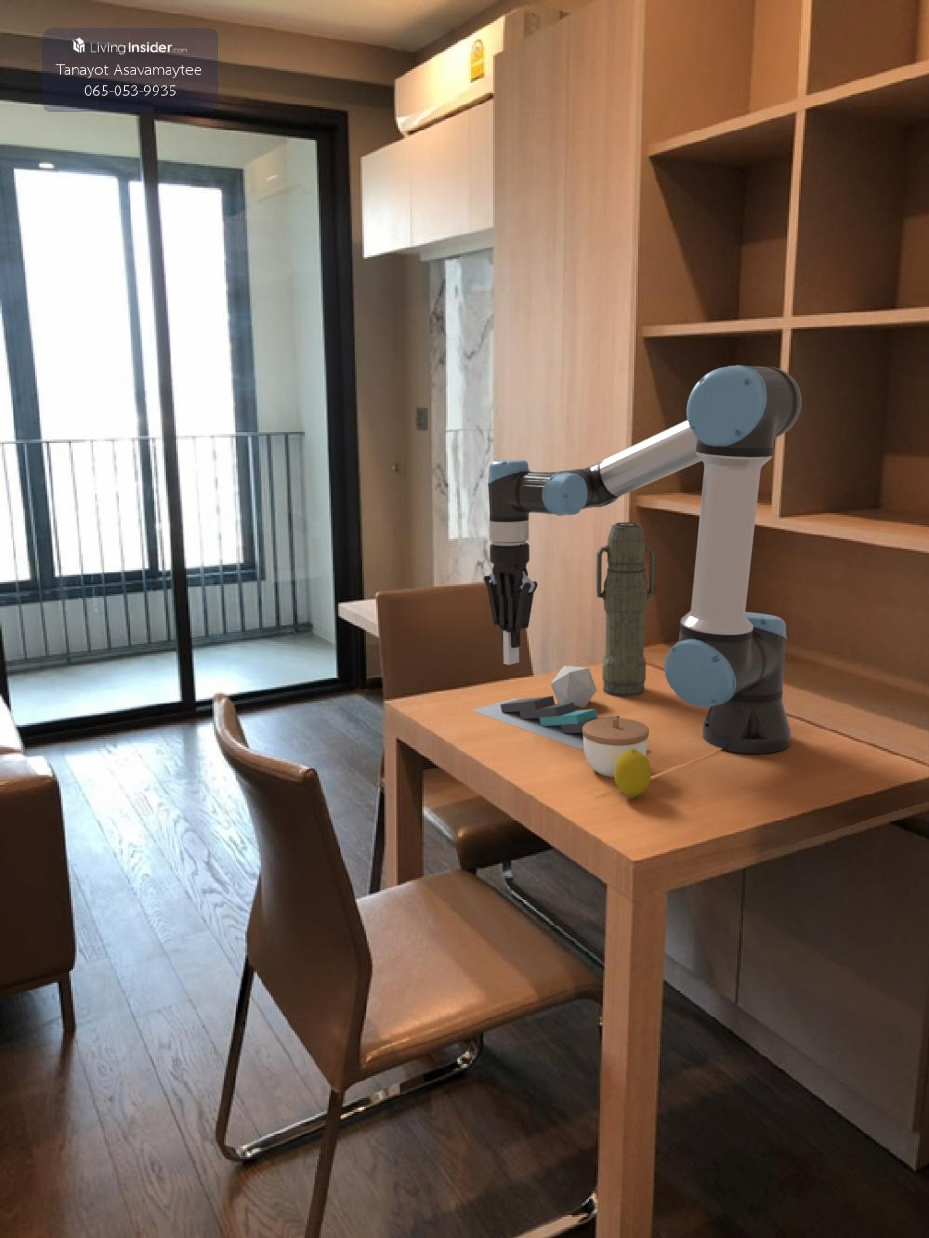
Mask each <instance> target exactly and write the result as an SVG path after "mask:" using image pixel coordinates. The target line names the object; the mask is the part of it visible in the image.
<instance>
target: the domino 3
mask: <svg viewBox="0 0 929 1238" xmlns="http://www.w3.org/2000/svg"><path fill="white" fill-rule="evenodd" d="M614 717H617V718H621V717H620V715H615V716H613V715H612V716H603V717H602V716H601V717H597V718H595V719H592V720H596V719H602V718H614ZM592 720H588V721H585V722H582V723H579V724H565V725H561V728H562V732H563V733H579V732H583V731H582V729H583V726H584V725H585V724H586V723H587V722H589V721H592Z"/></svg>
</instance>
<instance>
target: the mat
mask: <svg viewBox="0 0 929 1238" xmlns="http://www.w3.org/2000/svg"><path fill="white" fill-rule="evenodd" d="M519 699H520V698H517V697H515V698H514V697H513V698H511V699H508V700H504V701H500V702H497V703H492V704H489V705H485V706H482V707H478V708H474V709H471V710H470V711H471V712H475V713H477V714H480V715H483V716H486V717H488V718H491V719H493V720H497V721H500V722H502V723H505V724H507V725H508V724H509V725H511V726H514V727H517V728H519V729H522V730H525V731H528V732H531V733H533V734H536V735H539V736H541V737H545V738H547V739H550V740H553V741H555V742H558V743H561V744H565V745H567V746H570V747H573V748H575V749H578V750H584V745H583V732H579V733H563V732H562V728H561V725H550V726H541V723H540V718H530V719H521V716H520V711H514V712H503V713H502V710H501V706H500V704H504V703H508V702H511V701H515V700H519Z"/></svg>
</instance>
